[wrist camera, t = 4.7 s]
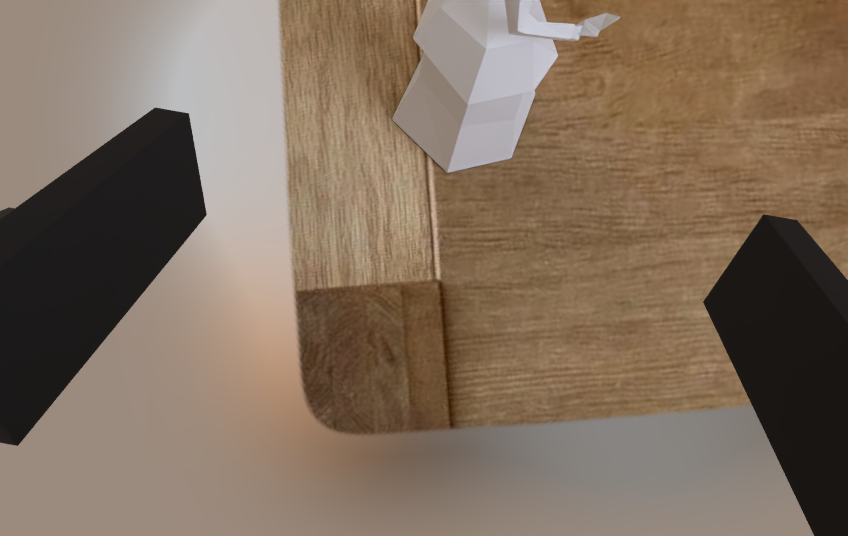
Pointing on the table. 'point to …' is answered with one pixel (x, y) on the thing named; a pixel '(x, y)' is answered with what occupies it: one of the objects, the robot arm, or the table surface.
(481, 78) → the figurine
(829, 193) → the table surface
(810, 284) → the robot arm
